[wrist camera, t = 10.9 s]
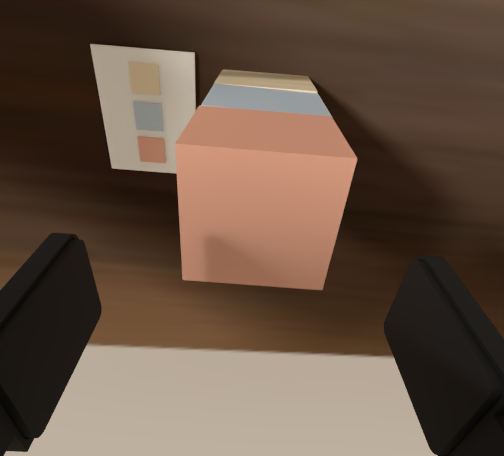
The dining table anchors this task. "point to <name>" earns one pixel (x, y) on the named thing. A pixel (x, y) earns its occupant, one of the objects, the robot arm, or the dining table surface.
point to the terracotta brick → (260, 196)
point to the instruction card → (144, 103)
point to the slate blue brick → (265, 100)
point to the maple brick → (266, 80)
